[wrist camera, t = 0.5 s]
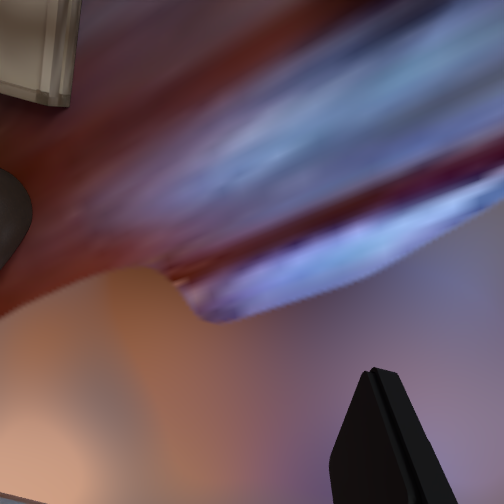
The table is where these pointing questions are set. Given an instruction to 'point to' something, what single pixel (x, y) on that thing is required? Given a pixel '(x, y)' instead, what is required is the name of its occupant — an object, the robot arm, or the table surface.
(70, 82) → the birch crate
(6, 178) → the plant pot
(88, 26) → the table surface
